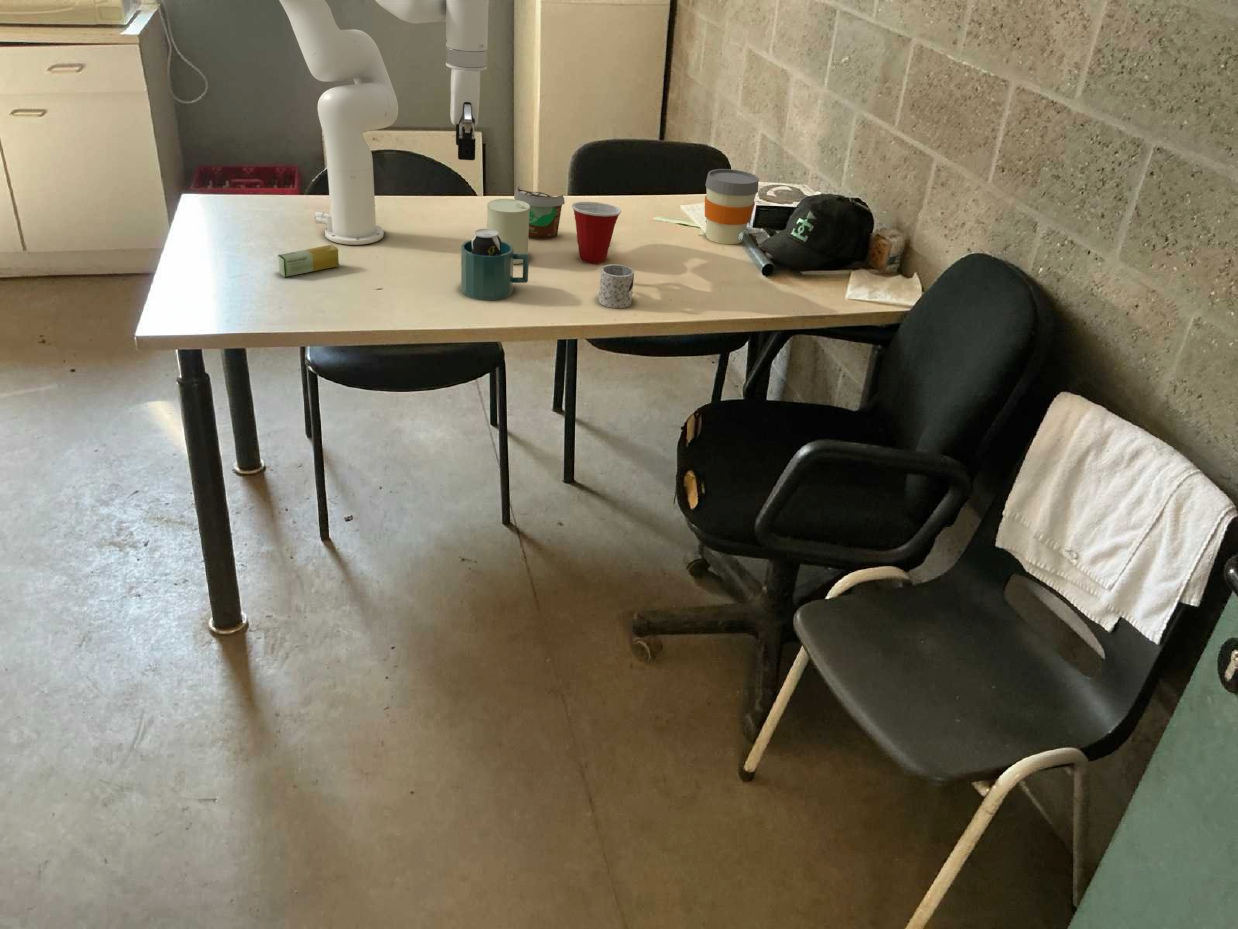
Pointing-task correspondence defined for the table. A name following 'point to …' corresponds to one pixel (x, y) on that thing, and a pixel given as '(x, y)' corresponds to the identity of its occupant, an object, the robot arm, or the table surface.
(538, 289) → the table surface
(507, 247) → the mug
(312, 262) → the medication box
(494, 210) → the can
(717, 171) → the reusable coffee cup
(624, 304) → the mug
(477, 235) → the beverage can
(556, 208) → the food container
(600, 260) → the plastic cup
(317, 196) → the table surface
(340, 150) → the robot arm
